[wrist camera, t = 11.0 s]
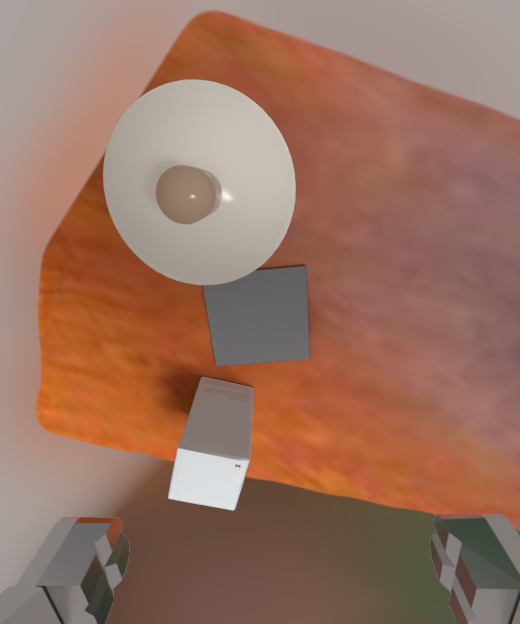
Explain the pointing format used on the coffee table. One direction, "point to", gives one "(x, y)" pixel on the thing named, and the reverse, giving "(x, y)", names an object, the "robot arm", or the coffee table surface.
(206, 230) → the lid
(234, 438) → the supplement box
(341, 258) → the coffee table surface
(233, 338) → the mat
